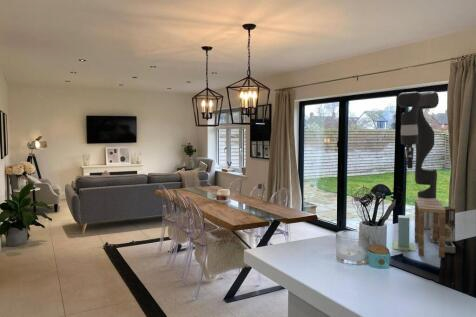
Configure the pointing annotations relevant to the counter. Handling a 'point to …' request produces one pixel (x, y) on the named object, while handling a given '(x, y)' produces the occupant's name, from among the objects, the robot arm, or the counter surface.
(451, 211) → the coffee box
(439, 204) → the small wooden table
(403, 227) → the teal block
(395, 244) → the mat
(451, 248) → the pit box
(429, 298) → the counter surface
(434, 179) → the robot arm
